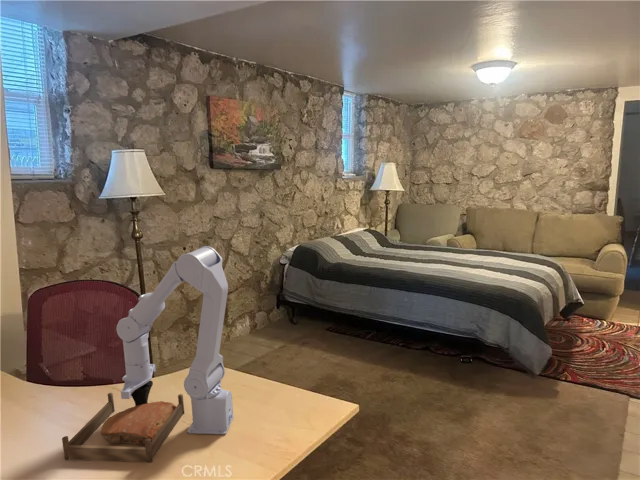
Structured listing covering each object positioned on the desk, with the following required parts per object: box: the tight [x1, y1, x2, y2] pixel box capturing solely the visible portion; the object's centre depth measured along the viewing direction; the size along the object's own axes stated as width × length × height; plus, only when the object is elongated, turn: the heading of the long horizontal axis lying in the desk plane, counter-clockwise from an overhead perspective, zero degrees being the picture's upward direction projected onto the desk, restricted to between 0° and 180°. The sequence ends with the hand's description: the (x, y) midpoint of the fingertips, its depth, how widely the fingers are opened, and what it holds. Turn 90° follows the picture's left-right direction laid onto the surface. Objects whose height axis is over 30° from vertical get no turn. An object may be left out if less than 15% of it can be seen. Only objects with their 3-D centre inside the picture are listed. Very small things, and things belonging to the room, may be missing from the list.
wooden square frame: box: [61, 392, 185, 464], centre depth 110 cm, size 20×20×5 cm
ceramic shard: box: [100, 400, 177, 446], centre depth 111 cm, size 15×6×15 cm
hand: (141, 410), depth 118 cm, fingers closed
